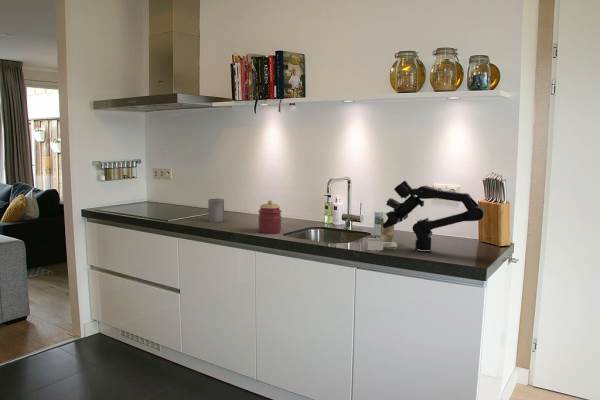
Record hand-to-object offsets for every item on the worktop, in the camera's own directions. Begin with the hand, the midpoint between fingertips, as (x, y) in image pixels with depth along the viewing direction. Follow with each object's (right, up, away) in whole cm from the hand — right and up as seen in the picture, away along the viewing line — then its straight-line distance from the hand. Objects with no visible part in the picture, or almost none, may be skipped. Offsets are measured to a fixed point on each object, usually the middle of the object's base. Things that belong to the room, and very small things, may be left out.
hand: (385, 226), depth 224 cm
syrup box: (+1, -7, +21) cm, 22 cm away
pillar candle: (-94, -1, +65) cm, 114 cm away
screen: (-7, -11, -10) cm, 16 cm away
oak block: (+1, -7, 0) cm, 7 cm away
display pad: (+1, -9, 0) cm, 10 cm away
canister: (-58, -5, +33) cm, 67 cm away
